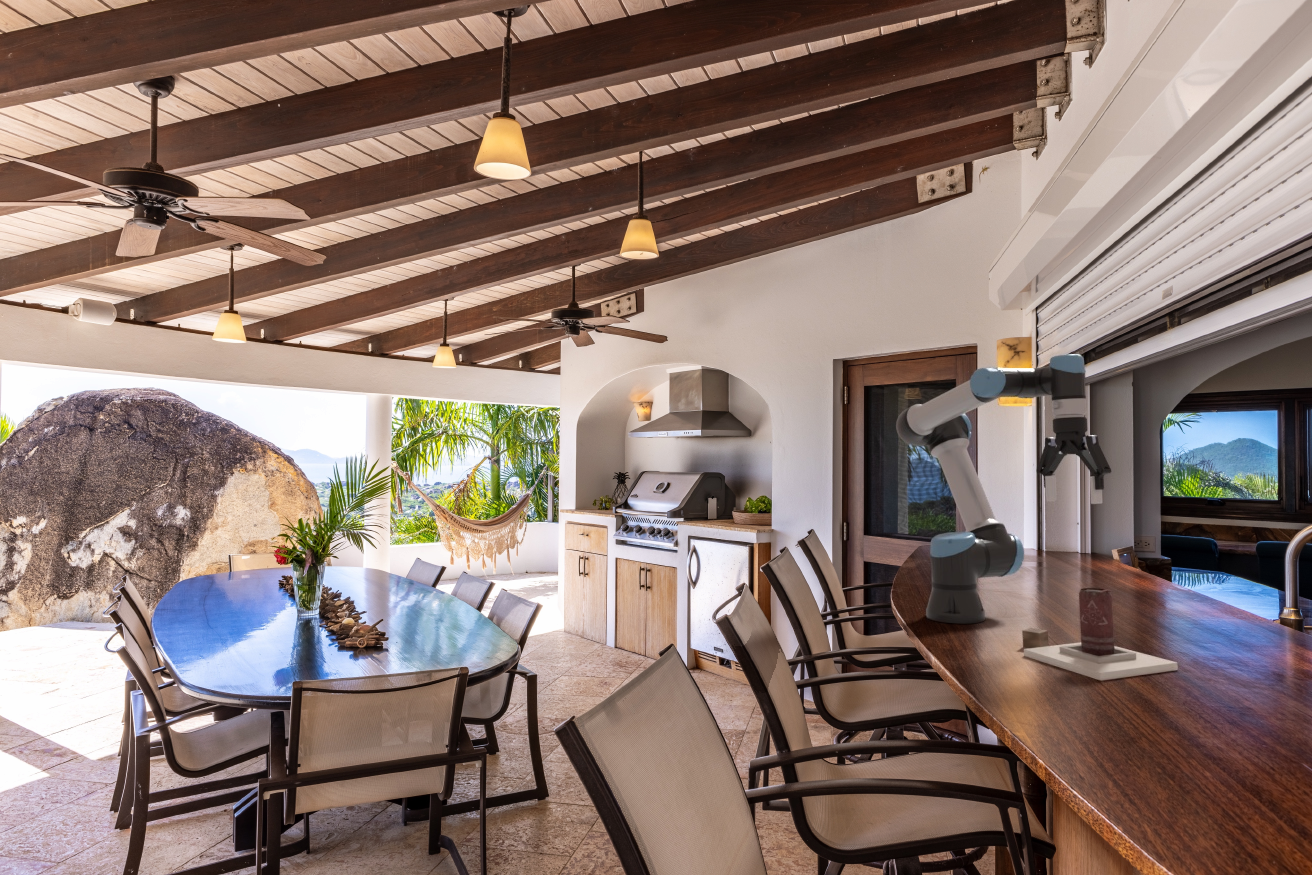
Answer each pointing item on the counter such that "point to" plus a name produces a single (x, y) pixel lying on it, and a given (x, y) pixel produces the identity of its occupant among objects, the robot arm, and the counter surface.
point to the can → (1096, 621)
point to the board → (1100, 661)
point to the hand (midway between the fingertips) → (1073, 502)
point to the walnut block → (1035, 638)
